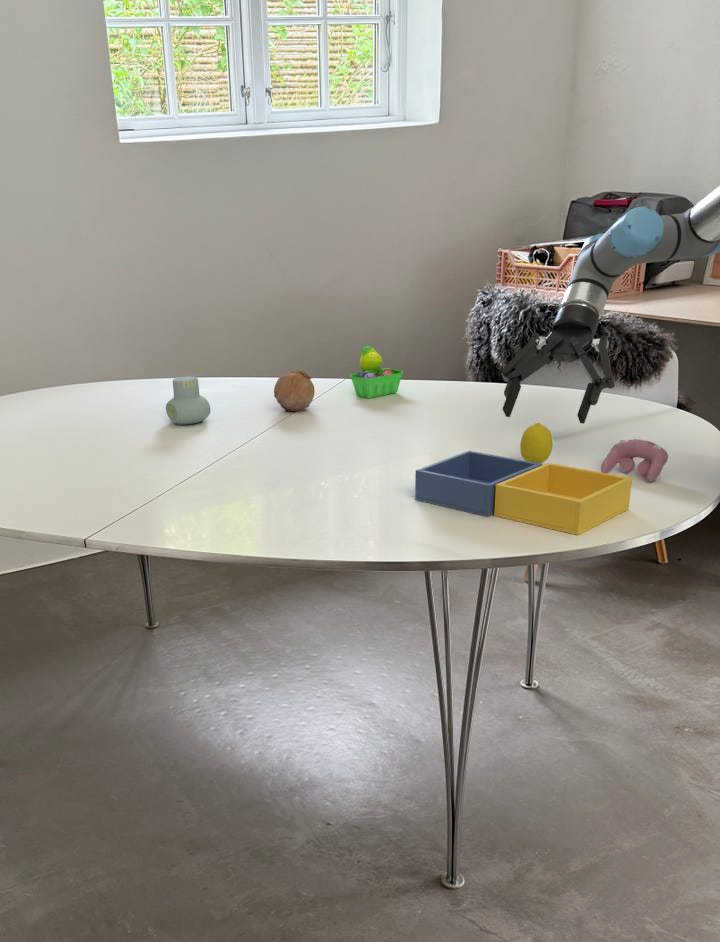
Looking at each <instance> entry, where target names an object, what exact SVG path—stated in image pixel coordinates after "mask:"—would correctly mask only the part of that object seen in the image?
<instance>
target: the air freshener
mask: <svg viewBox="0 0 720 942" xmlns="http://www.w3.org/2000/svg"><path fill="white" fill-rule="evenodd" d="M199 385H200V384H199V378H198V377H197V376H191V375H189V376H188V375H185V376H177V377H176V378H174V379H172V390H173V397H172V398H171V399H170V400H168V402H167V403H166V404H165V412H166V415H167V417H168V419H169V420H170V421H171V422H173V423H175V424H177V425H180V426H181V425H182V426H184V425H185V426H186V425H194V424H199V423H200V422H203V421H205V420H206V419H207V418H208V417H209V416H210V414H211V405H210V403H209V401H208V399H207V398H206V397H204V395H203V396H202V395H200V387H199Z"/></svg>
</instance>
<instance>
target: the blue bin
mask: <svg viewBox="0 0 720 942" xmlns="http://www.w3.org/2000/svg"><path fill="white" fill-rule="evenodd" d="M542 465H543V463H535V462H529V461H525V460H524V459H519V458H512V457H507V456H502V455H501V456H500V455H497V454H496V455H495V454H491V453H490V454H489V453H485V452H480V451H472V450H467V451H464V452H461V453H459V454H456V455H453V456H450V457H448V458H446V459H442V460H440V461H437V462H434V463H432V464H429V465H426V466H423V467H420V468H417V469H416V470H415V479H414V480H415V482H414V483H415V484H414V485H415V487H414V488H415V489H414V495H415V496H414V500H415V501H419V502H423V503H428V504H432V505H435V506H440V507H444V508H449V509H453V510H457V511H462V512H467V513H471V514H474V515H479V516H482V517H490V516H494V509H495V489H496V484H498V483H501V482H503V481H506V480H508V479H511V478H513V477H515V476H518V475H520V474H523V473H525V472H527V471H530V470H532V469H535V468H537V467H540V466H542Z"/></svg>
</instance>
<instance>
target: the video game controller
mask: <svg viewBox="0 0 720 942" xmlns="http://www.w3.org/2000/svg"><path fill="white" fill-rule="evenodd" d="M634 458H638V459H643V460H642V461H640V462H639V463H638V464H637V467H636V462H635V460H634ZM668 459H669V454H668V451H667V450H666V449H664V448H663V447H661V446H660V444H657V443H655V442H652V441H649V440H644V439H637V438H636V439H635V438H633V439H629V440H628V439H625V440H624V439H621V440H619V441H618V443H617V442H616V443H614V445H613V446H612V448H611V449H610V451H609V452H608V453H607V455H606V456H605V458H604V459H603V461H602V462H601V467H600V472H602V473H608V474H609V473H610V472H611V471H612V470H613V469H614V467H616V465H617V464H619V469H620V471H621V472H623V473H631V472H633V471H634V470H635V468H636V473H638V474H639V475H640V476H643V477H646V480H647V482H649V483H652V482H654V481H655V480H656V479H657V478H659V476H660V474H661V472H662V470H663V468H664V466H665V465H666V463H667V462H668Z"/></svg>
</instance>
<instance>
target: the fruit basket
mask: <svg viewBox="0 0 720 942" xmlns="http://www.w3.org/2000/svg"><path fill="white" fill-rule="evenodd" d="M360 354H361V355H360V359H359V367H360V370H362V371H361V372H357V373H353V374H350V375H349V378H350V379H351V383H352V385H353V388H354V392H355V396H357V397H360V398H364V399H365V398H366V399H372V398H377V397H382V396H386V395H390V393H391V394H395V393H396V392H397V393H398V391H399V386H400V383H401V379H402V377H403V375H404V371H403V370H398V369H393V368H388V367H381V364H382V362H383V357H382V356H381V354H380V353H378V352H377V351H376V350H375V348H373V347H372V346H370V345H366V346H363V347H362V349H361V353H360Z"/></svg>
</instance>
